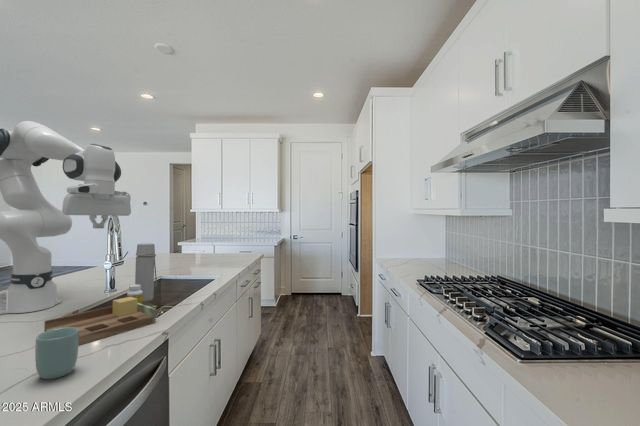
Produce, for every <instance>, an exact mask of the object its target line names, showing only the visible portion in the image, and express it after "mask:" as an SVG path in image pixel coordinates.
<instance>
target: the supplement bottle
mask: <svg viewBox="0 0 640 426" xmlns="http://www.w3.org/2000/svg"><path fill="white" fill-rule="evenodd" d="M140 289H141V285H135V284H131V285H129V287H128V291H127V292H126V297H134V298H137V299H138V303H140V304H143V302H142V297H143V292H142V290H140Z"/></svg>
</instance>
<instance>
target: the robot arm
mask: <svg viewBox="0 0 640 426" xmlns="http://www.w3.org/2000/svg"><path fill="white" fill-rule="evenodd" d="M0 158H1V159H0V193H1V196H2V199H3V201H4V202H5V203H6V204H7V205H8V206H9V207H12V208H14V209H10V210H2V211H0V240H2V242H4V243H5V244H6V245H7V247H8V248H9V250H10V252H11V255H12V273H11V274H10V281H9V283H10V284H9V286H8V287H7V289H6V291H5V292H2V293H0V300H1V302H0V315H3V314H5V315H6V314H22V313H31V312H32V313H33V312H37V311H43V310H47V309H49V308H52V307H54V306H57V305H58V304H61V303H63V302H62V299H59V298H58V286H57V283H56V282H54V281H53V275H54V273H53V270H52V252H51V251H50V250H49V249H48V248H46V247H44V246H41V245H39V243H38V241H37V238H49V237H51V238H53V237H57V236H62V235H64V234H65V235H66V234H68V232H70V231H71V229H72V226H73V219H72V217H71V216H89V220H90V222H91V224H92V228H93V229H104V228H105V224H106V223H107V221H108V220H109V216H112V217H114V216H117V217H119V216H122V217H123V216H125V217H126V216H130V215H131V213H132V208H131V207H132V205H131V195H130V194H129V193H128V192H127V191H119V190H115V187H116V186H115V185H116V183H117V181H118V180H120V178H121V176H122V169H121V167H120V165H119V163H118V162H117V160H116V156H115V152H114V149H112V148H111V147H110V146H104V145H100V144H96V143H89V144H87V145H86V146H85V148H84V147H81V146H80V145H78V144H76V143H75V142H73V141H71V140H70V139H67V138H66V137H64V136H63V135H61V134H59V133H58V132H57V131H55V130H53V129H52V128H50V127H49V126H46V125H44V124H42V123H40V122H36V121H33V120H23V121H21V122H19V123H17V124H16V125H15V127H14V129H13V130H6V129H5V128H0ZM49 160H56V161H62V171H63V173H64V175H65V176H66V177H67V178H68V179H70V180H74V181H79V182H83V183H84V184H83V183H82V184H78V185H74V186H73V185H72V186H68V187H67V188H66V192H67V194H66V195H65V196H64V198H63V201H62V208H61V210H60V209H58V207H55V206H54V205H53V204H51V203H50V202H49V201H48V199H46V198H45V196H44V195H43V193H42V191H41V190H40V187H39V185H38V183H37V181H36V178H35V176H34V174H33V171H32V166H33V167H40V166H41V165H42V164H44V163H46V162H48V161H49ZM97 216H100V217H101V219H102V220H101V222H100V223H99V222H98V221H97V220H96V219H97Z"/></svg>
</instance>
